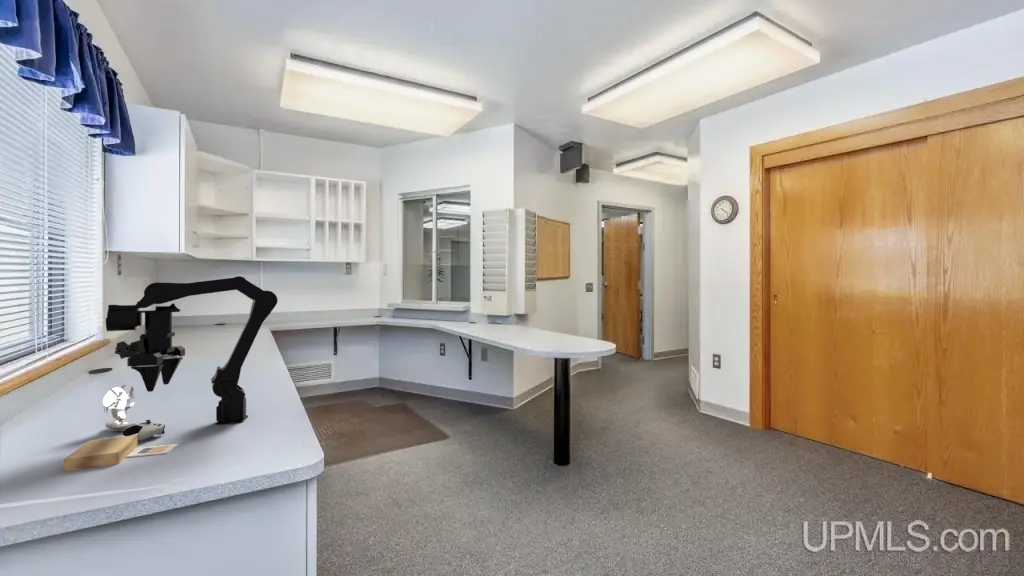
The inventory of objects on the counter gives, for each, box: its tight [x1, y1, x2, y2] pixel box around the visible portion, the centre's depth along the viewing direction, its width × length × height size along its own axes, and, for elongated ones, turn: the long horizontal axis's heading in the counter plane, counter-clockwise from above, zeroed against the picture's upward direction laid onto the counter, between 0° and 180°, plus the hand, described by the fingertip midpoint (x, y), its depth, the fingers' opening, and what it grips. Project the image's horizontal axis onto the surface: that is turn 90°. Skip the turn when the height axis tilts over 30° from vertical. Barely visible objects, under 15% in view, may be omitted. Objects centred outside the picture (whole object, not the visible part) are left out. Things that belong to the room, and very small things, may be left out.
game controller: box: [121, 419, 166, 441], centre depth 115 cm, size 10×5×6 cm
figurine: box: [102, 384, 137, 433], centre depth 120 cm, size 9×6×12 cm
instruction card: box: [125, 443, 179, 459], centre depth 105 cm, size 8×6×1 cm
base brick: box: [63, 434, 138, 472], centre depth 101 cm, size 9×13×3 cm
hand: (158, 387), depth 119 cm, fingers open, 9 cm apart
